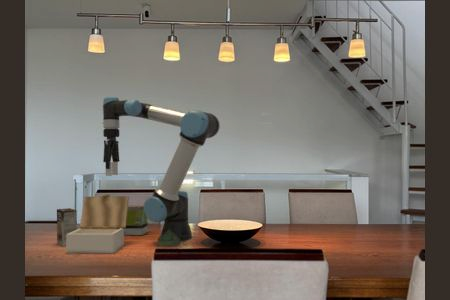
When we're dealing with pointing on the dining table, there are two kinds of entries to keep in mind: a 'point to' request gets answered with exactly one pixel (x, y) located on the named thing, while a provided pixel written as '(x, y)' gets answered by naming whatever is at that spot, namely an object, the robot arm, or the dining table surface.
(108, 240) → the chest
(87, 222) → the lid
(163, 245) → the decorative artifact
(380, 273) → the dining table surface
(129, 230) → the tea box
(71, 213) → the coffee box
